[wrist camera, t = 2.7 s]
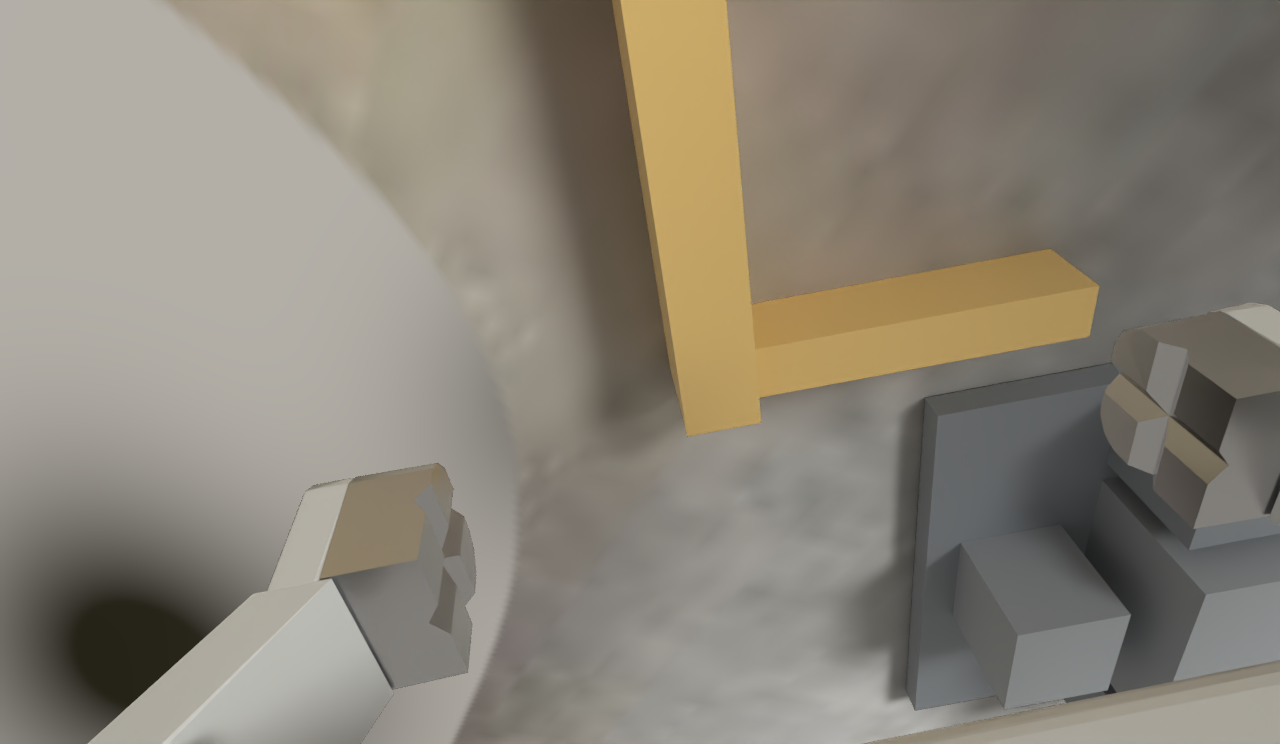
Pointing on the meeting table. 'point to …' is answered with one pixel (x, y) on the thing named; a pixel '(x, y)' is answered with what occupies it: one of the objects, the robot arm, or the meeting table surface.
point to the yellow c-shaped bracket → (718, 263)
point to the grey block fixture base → (1068, 559)
